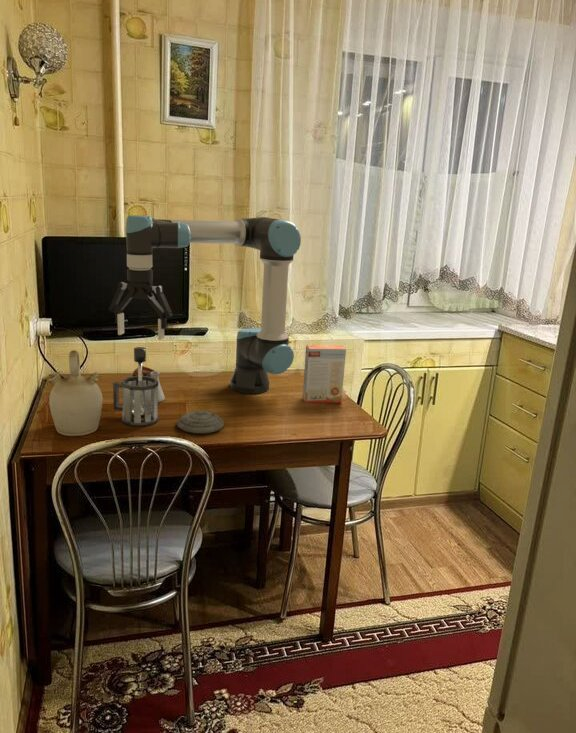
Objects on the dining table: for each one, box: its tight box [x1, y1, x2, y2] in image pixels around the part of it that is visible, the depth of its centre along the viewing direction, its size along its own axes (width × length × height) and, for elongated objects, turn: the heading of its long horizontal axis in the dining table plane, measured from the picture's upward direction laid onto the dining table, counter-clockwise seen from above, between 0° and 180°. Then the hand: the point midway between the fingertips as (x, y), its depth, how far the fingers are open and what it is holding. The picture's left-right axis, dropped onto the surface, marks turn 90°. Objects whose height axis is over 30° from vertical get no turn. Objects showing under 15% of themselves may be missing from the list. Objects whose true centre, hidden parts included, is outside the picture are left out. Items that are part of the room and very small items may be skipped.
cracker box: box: [302, 344, 347, 404], centre depth 223 cm, size 14×6×21 cm, turn 99°
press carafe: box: [112, 375, 159, 428], centre depth 195 cm, size 15×12×13 cm
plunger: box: [132, 346, 152, 416], centre depth 192 cm, size 8×8×21 cm
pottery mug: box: [131, 365, 157, 386], centre depth 228 cm, size 12×10×8 cm
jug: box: [48, 350, 103, 437], centre depth 182 cm, size 15×16×25 cm
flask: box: [150, 371, 166, 403], centre depth 213 cm, size 7×7×10 cm
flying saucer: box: [176, 410, 225, 434], centre depth 193 cm, size 15×15×6 cm
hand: (141, 336), depth 188 cm, fingers open, 13 cm apart
